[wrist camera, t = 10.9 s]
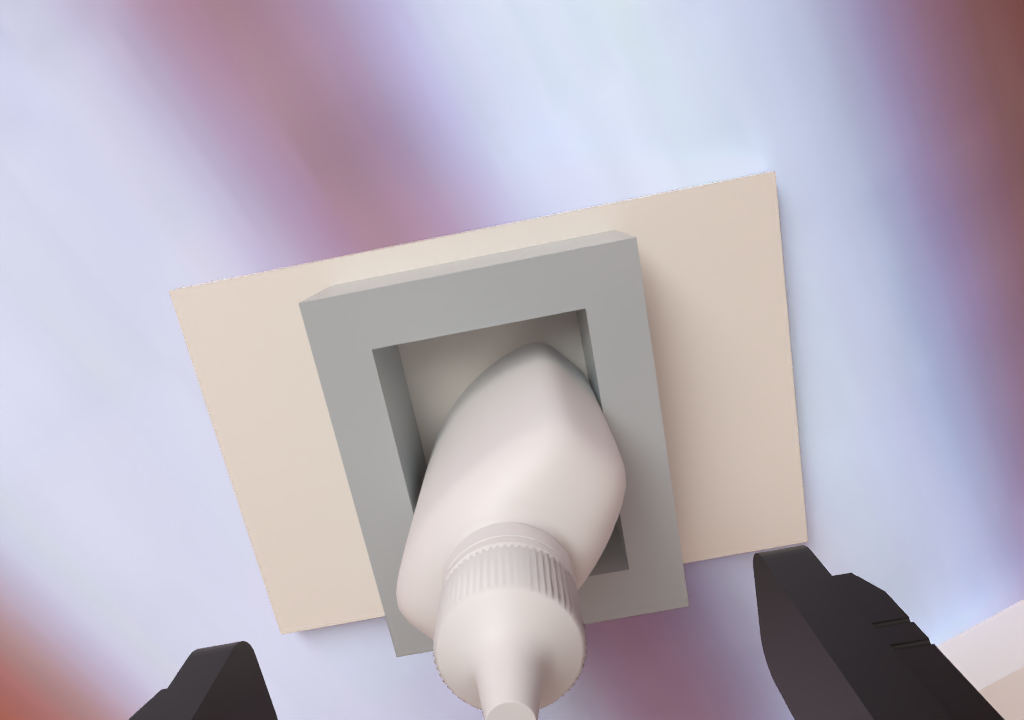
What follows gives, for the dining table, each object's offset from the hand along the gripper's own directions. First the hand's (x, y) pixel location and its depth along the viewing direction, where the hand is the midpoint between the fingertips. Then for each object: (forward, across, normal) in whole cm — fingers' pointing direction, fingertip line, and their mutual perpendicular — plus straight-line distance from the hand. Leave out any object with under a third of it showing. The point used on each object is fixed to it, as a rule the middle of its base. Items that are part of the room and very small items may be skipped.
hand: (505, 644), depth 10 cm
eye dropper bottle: (+11, 0, 0) cm, 11 cm away
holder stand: (+11, 0, 0) cm, 11 cm away
